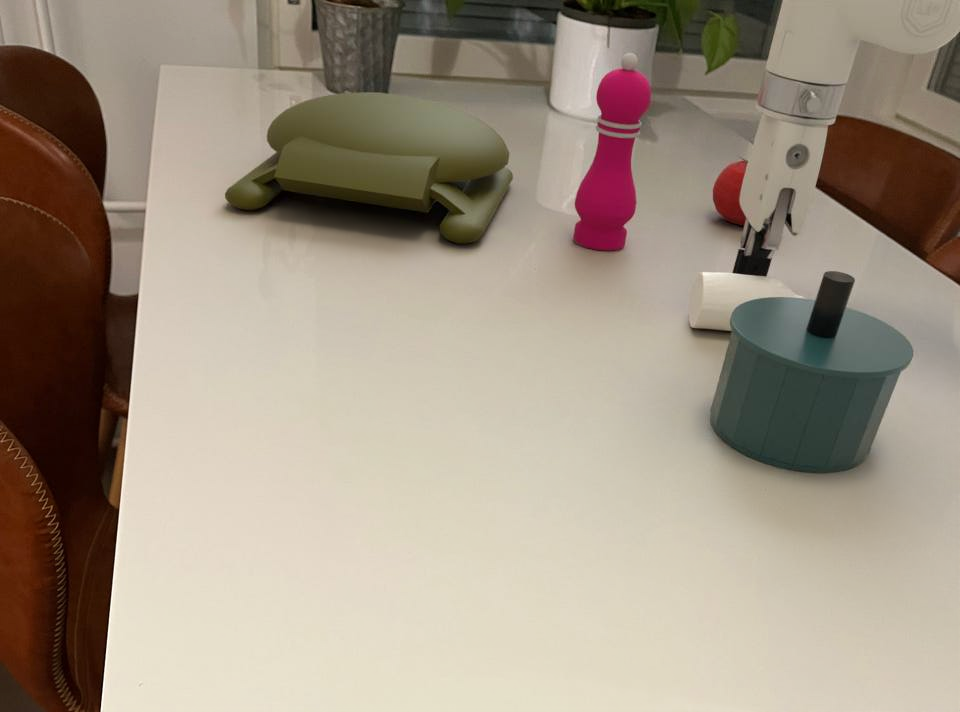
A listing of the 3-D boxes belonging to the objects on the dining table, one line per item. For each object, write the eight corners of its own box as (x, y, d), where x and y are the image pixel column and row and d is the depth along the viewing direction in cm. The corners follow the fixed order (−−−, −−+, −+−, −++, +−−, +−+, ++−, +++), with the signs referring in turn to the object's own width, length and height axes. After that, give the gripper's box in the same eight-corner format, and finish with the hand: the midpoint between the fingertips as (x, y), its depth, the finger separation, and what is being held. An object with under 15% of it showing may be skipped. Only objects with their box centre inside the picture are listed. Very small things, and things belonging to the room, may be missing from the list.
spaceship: (478, 251, 112) (486, 159, 106) (218, 211, 114) (212, 118, 108) (520, 171, 139) (529, 94, 133) (309, 140, 141) (308, 62, 135)
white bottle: (810, 349, 100) (827, 294, 96) (693, 337, 99) (706, 281, 96) (797, 325, 104) (814, 272, 101) (685, 313, 104) (698, 260, 100)
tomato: (700, 224, 128) (716, 158, 123) (712, 206, 135) (727, 143, 130) (767, 237, 126) (786, 171, 121) (776, 219, 133) (794, 156, 128)
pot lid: (877, 318, 86) (901, 253, 82) (934, 394, 75) (964, 323, 71) (713, 302, 85) (730, 235, 82) (746, 376, 74) (767, 303, 71)
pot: (843, 402, 91) (876, 313, 85) (888, 479, 80) (928, 383, 75) (698, 389, 90) (722, 297, 85) (725, 464, 80) (753, 366, 74)
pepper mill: (619, 233, 122) (652, 48, 109) (635, 253, 117) (673, 62, 104) (563, 230, 121) (590, 43, 108) (577, 251, 116) (608, 57, 103)
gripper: (860, 122, 86) (794, 324, 98) (819, 85, 98) (765, 270, 110) (776, 112, 86) (721, 315, 98) (745, 76, 97) (699, 262, 109)
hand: (744, 291), depth 104 cm, fingers closed
